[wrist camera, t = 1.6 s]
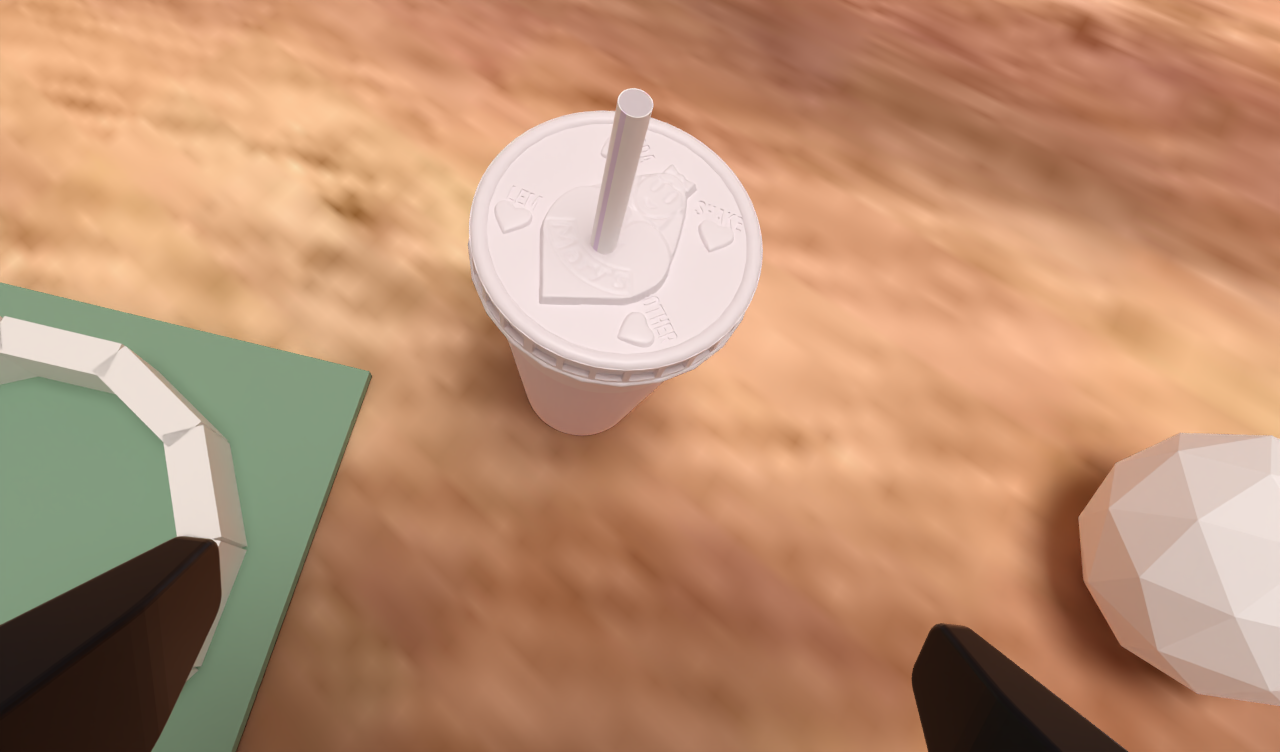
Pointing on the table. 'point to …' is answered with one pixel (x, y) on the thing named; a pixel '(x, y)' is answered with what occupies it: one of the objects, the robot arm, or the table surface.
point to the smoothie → (611, 258)
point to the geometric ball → (1193, 561)
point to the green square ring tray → (165, 474)
